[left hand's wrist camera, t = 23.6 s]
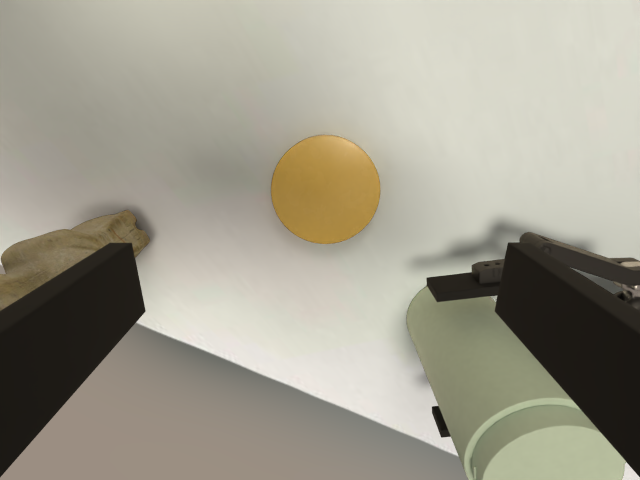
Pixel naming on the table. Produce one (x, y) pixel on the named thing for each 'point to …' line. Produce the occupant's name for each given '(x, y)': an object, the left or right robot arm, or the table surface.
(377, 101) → the table surface
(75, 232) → the sculpture
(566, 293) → the left robot arm
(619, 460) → the jar
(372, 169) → the lid
